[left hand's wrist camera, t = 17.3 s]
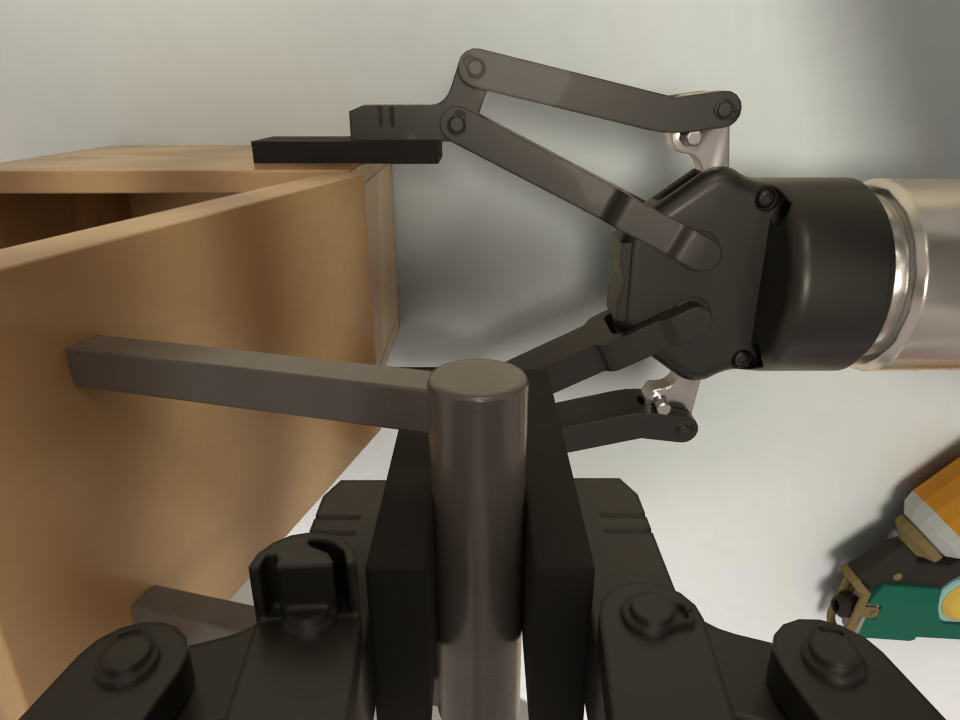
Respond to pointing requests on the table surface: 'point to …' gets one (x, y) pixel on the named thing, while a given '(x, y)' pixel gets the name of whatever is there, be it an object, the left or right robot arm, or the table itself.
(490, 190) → the table surface
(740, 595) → the table surface
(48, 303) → the lid
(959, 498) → the spray gun
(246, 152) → the chest
